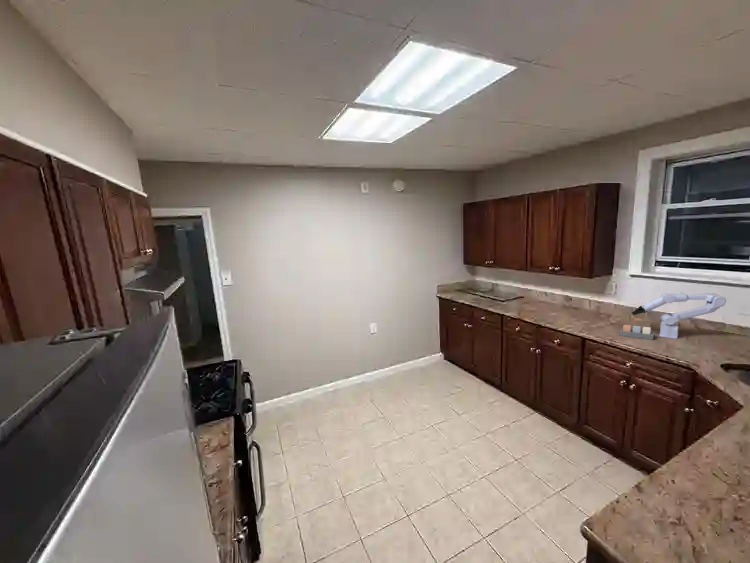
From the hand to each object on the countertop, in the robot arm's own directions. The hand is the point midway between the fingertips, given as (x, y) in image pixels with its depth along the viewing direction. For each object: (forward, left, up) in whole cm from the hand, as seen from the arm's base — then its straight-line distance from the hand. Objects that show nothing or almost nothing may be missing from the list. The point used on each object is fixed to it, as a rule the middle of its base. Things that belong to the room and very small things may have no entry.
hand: (632, 313), depth 239 cm
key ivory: (-8, +4, -12) cm, 15 cm away
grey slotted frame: (-3, +4, -15) cm, 16 cm away
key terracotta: (+3, +4, -12) cm, 13 cm away
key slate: (-3, +4, -12) cm, 13 cm away
